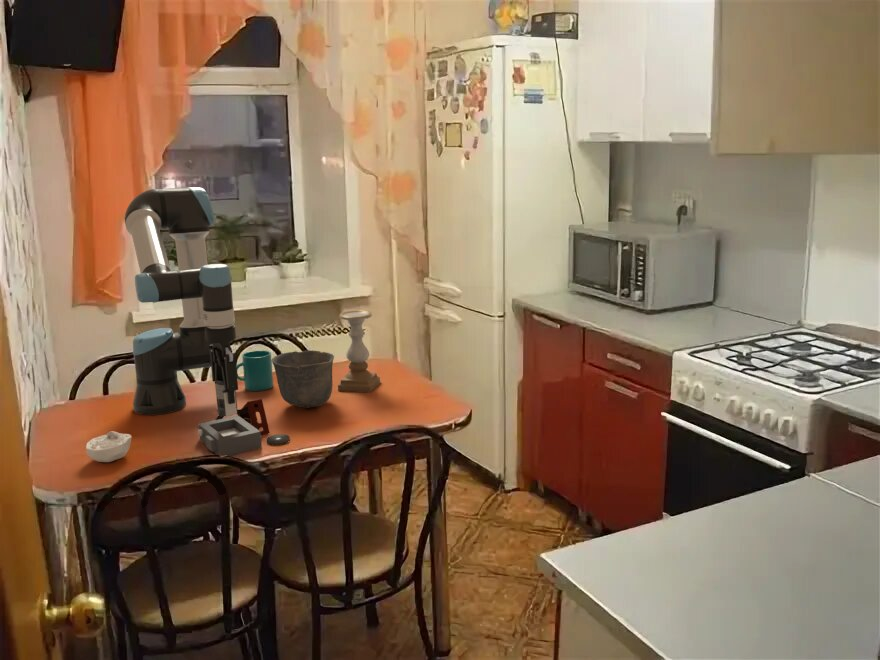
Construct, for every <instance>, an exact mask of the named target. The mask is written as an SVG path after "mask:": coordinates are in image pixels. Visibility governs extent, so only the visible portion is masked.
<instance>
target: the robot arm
mask: <svg viewBox="0 0 880 660" xmlns="http://www.w3.org/2000/svg"><path fill="white" fill-rule="evenodd" d="M214 216H215V215H214V211H213V207H212V203H211V200H210V197H209V194H208V193H207V191H206V190H205V189H204V188H202V187H199V186H197V187H195V186H193V187H191V186H187V187H175V188H174V187H173V188H171V187H170V188H152V189H149V190H148V189H147V190H145V191H142V192H141V193H139V194H138V195H137V196H135V198H133V199H132V200H131V201H130V203H129V205H128V206H127V208H126V210H125V214H124V223H125V224H124V225H125V228H126V231H127V232H128V234H129V235H131V237H132V242H133V247H134V250H135V251H134V252H135V254H136V259H137V262H138V263H137V264H138V268H139V272H140V273H138V274H136V275H135V276H134V285H135V291H136V297H137V300H138V301H139V302H140V303H142V304H143V303H145V304H146V303H153V304H155V303H159V302H167V301H179V300H181V305H182V313H183V314H182V315H183V320H182V322H181V323H180V324H179V331H176V332H174V331H173V329H172V328H170V327H163V328H162V327H159V328H154V329H153V328H152V329H150V330H147V331H144V332H141V333H140V334H137V335H136V336H134V338H133V339H132V355H133V360H134V367H135V377H136V378H135V379H136V387H135V393H134V397H133V402H132V407H133V409H132V410H133V411H134V412H135V413H136V414H139V415H149V416H152V415H154V416H155V415H165V414H170V413H173V412H176V411H180V410H181V409H183V408H184V407H186V406H187V400H186V395H185V392H184V391H183V388H182V386H181V384H180V382H179V380H178V379H179V378H178V372H182V371H188V370H195V369H202V368H207V369H209V368H210V369H211V380H212V382H213V383H214V384H215V383H216V382H217V380H218V379H222V378H223V381H224V387H225V390H223V391H222V392H223V393H224V400H225V411H226V416H225V417H232V416H237V415H238V414H237V410H238V408H237V409H236V399H237V396H236V397H235V390H236V391H239V384H238V381H239V380H238V379H237V374H238V370H236V366H237V353H235V352H233V349H232V347H231V344H230V343H231V342H232V341H234V340H235V339H236V338H237V334H236V333H237V332H236V325H235V323H236V321H235V320H236V319H235V308H234V303H233V301H234V300H233V289H232V287H233V285H232V276H231V275H232V274H231V268H230V266H229V265H227V264H225V263H224V264H223V263H212V264H208V256H207V245H206V244H207V243H206V237H207V236H208V235H209V234H210V232H211V231H210V227H212V226H214V224H215V220H214V219H215V218H214ZM164 229H166V230H168V235H169V236H170V237H171V238H172V239H173V240H174V242H175V243H174V244H175V250H176V259H177V260H176V261H177V266H178V267H177V269H178V270H172V269H171V267H170V264H169V263H170V262H169V259H168V256H167V252H166V248H165V244H164V241H163V238H162V234H161V230H164ZM231 415H232V416H231Z"/></svg>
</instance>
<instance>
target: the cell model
mask: <svg viewBox="0 0 880 660" xmlns="http://www.w3.org/2000/svg"><path fill="white" fill-rule="evenodd" d="M131 441H132V434H129V433H122V432H121V433H119V432H117V431H113V430H112V431H109V432H107V434H102V435H99V436H97V437H94V438H93V437H92V439H90V440H89V441H87V443H86V444H85V445H86V446H85V450H86V455H87V456H88V458H90V459H92V460H94V461H96V462H100V463H111V462H114V461H116V460H119V459H121V458H124V457H125V456H126V455H127V453H128V452H129V449H130V447H131Z"/></svg>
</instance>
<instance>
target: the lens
mask: <svg viewBox="0 0 880 660" xmlns="http://www.w3.org/2000/svg"><path fill="white" fill-rule="evenodd" d="M214 385H215V386H214V387H215V397H216V407H217V416H224V417H227V416H226V411H225V400H224V393H223V392H222V391H223V390H225V387H224V381H223V378H222V379H218V380H217V382H216V383H215V382H214ZM235 397H236V409H237V410H238V401H237V390H235ZM237 413H238V411H237ZM230 417H233V415H231V416H230Z"/></svg>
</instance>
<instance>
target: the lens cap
mask: <svg viewBox="0 0 880 660" xmlns="http://www.w3.org/2000/svg"><path fill="white" fill-rule="evenodd" d="M290 438H291V436H290V435H288V434H283V433H278V434H272V435H269V436H267V438H266V443H267V444H268V445H270V444H271V446H281V445H280V444H282V445H285V443H286V444H287V442H288V441H289V442H290V441H291V439H290ZM289 442H288V443H289ZM272 444H273V445H272Z"/></svg>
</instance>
